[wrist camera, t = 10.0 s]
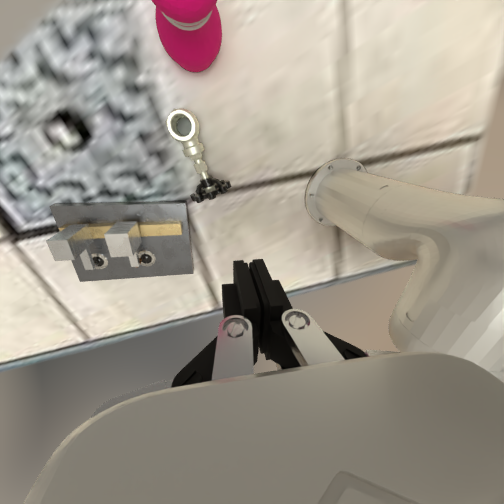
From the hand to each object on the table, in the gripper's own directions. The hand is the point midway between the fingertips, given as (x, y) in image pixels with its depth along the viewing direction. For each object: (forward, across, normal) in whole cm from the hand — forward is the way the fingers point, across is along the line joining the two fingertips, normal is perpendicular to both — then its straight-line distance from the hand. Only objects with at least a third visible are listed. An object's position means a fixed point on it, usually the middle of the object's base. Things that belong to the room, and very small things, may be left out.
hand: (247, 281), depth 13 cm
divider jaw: (+27, +15, +9) cm, 32 cm away
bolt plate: (+29, +16, +10) cm, 35 cm away
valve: (+30, +4, -5) cm, 30 cm away
